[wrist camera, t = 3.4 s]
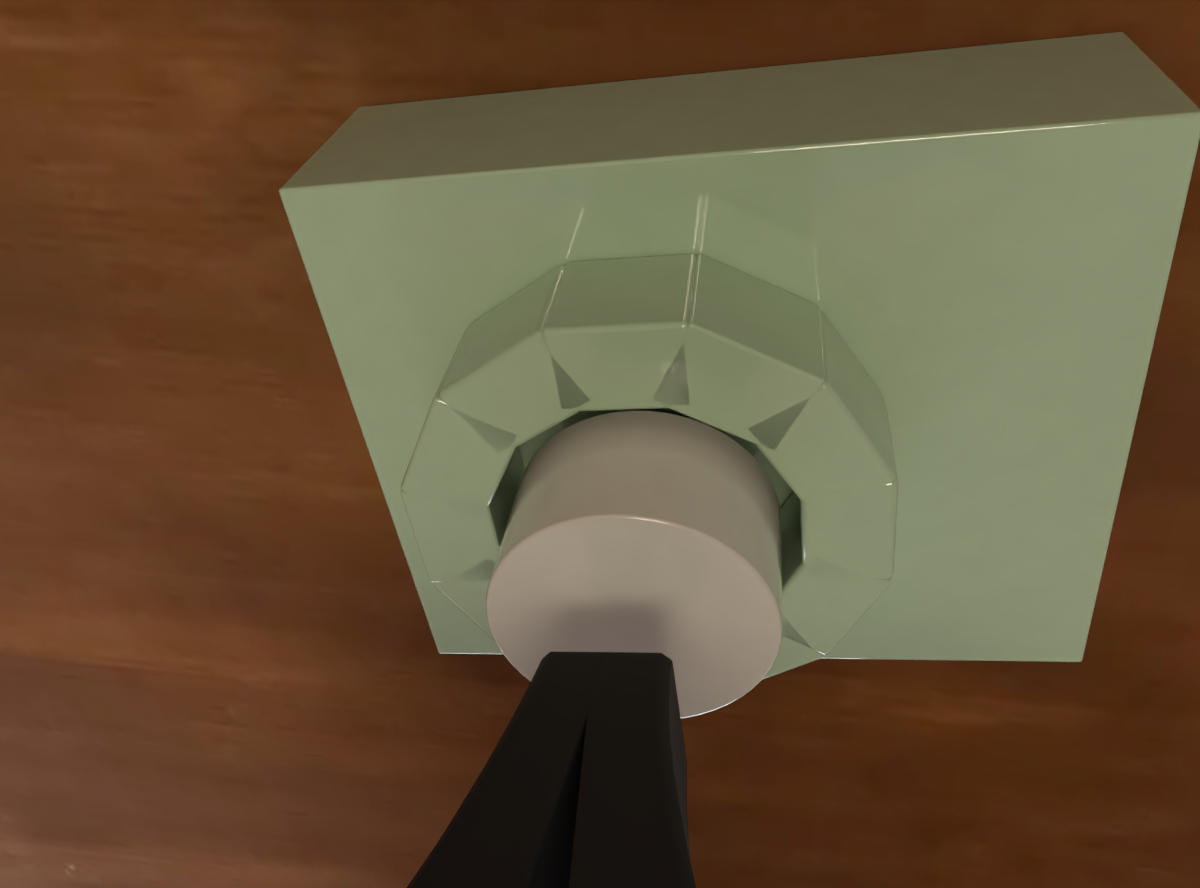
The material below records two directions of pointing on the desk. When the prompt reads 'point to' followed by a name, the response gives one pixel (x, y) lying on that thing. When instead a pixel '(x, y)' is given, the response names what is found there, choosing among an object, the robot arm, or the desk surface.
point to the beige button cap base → (777, 317)
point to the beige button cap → (644, 554)
